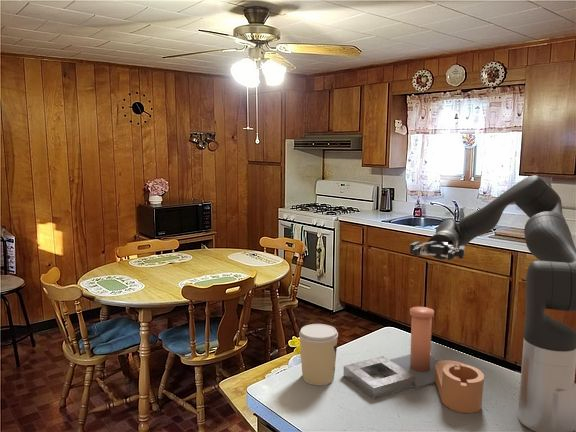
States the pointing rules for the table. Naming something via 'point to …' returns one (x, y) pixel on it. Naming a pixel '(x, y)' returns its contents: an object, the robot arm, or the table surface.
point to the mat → (420, 377)
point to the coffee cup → (318, 353)
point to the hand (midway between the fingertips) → (432, 254)
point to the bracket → (459, 386)
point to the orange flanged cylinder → (421, 338)
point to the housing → (384, 386)
